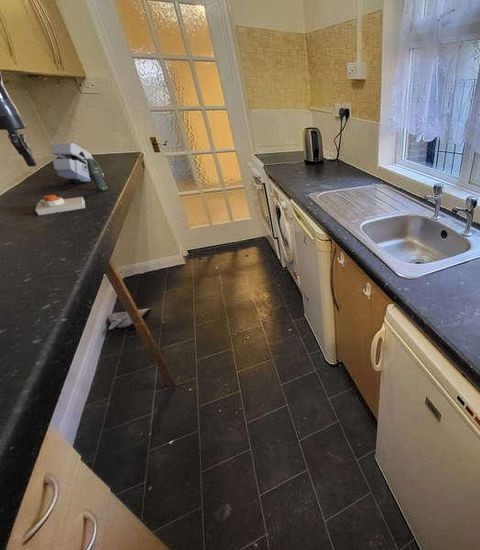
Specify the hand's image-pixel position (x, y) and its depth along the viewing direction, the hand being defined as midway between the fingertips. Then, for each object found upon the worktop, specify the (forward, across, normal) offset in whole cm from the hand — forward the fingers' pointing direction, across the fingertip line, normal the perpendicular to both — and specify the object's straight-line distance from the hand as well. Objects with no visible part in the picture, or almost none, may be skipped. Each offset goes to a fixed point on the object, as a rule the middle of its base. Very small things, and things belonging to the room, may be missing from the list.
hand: (32, 165), depth 112 cm
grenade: (+17, -22, +16) cm, 33 cm away
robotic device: (+17, -50, +9) cm, 53 cm away
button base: (+17, 0, +2) cm, 17 cm away
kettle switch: (+13, 0, 0) cm, 13 cm away
